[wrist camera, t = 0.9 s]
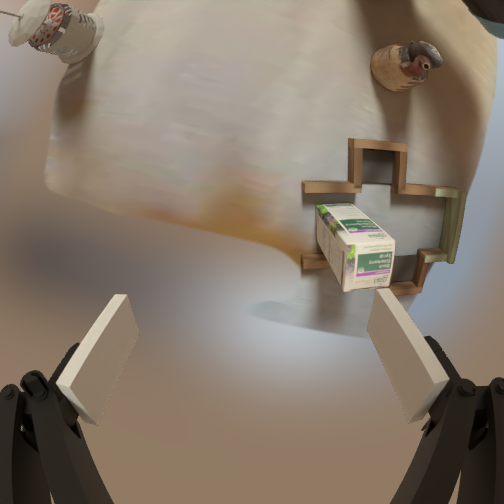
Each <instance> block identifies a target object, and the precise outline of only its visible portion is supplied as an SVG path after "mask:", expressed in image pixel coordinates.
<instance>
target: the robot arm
mask: <svg viewBox="0 0 504 504" xmlns="http://www.w3.org/2000/svg"><path fill="white" fill-rule="evenodd" d="M462 1H463V2H464V4H465V5H466V6H467V7H468V10H469V11H470V12H471V14H472V15H474V16H475V17H476V18H477V19H478V20H479V22H480V23H481V24H482V25H483V27H484V28H485V29H486V30H487V31H488V32H489V33H491V34H492V35H494V36H495V37H498V38H500V39H504V0H462ZM367 331H368V333H369V335H370V337H371V339H372V342H373V344H374V346H375V348H376V350H377V352H378V354H379V356H380V359H381V361H382V363H383V365H384V367H385V370H386V372H387V374H388V376H389V379H390V381H391V383H392V386H393V388H394V390H395V392H396V395H397V397H398V400H399V402H400V404H401V407H402V410H403V412H404V414H405V417H406V419H407V422H408V423H412V422H415V421H418V420H421V419H423V418H424V416H425V415H426V413H427V412H429V414H430V419H429V420H428V421H427V423H426V424H425V425H424V426H423V428H422V429H421V430H422V431H423V430H424V429H425V431H424V433H423V436H422V439H421V441H420V444H419V446H418V449H417V451H416V453H415V456H414V458H413V460H412V462H411V464H410V466H409V468H408V471H407V473H406V475H405V477H404V479H403V481H402V483H401V484H400V486H399V488H398V490H397V492H396V494H395V496H394V497H393V499H392V501H391V502H390V504H448V503H449V501H450V498H451V496H452V493H453V491H454V488H455V485H456V482H457V479H458V477H459V474H460V471H461V477H460V485H459V492H458V498H457V504H504V379H503V378H500V377H498V378H495V379H493V380H492V381H491V383H490V384H489V386H476V385H475V384H474V383H473V382H472V381H470V380H468V379H461V377H460V376H459V374H458V373H457V371H456V369H455V368H454V366H453V365H452V363H451V362H450V360H449V359H448V357H446V354H445V353H444V351H442V348H441V347H440V345H439V344H438V342H437V341H436V340H434V339H433V338H432V337H430V336H425V337H423V336H422V334H421V333H420V331H419V330H418V328H417V327H416V325H415V324H414V323H413V321H412V320H411V318H410V317H409V315H408V314H407V312H406V311H405V309H404V308H403V307H402V305H401V304H400V303H399V301H398V300H397V298H396V297H395V296H394V294H393V293H392V292H391V290H390V289H389V288H383V289H376V293H375V298H374V302H373V307H372V311H371V315H370V319H369V323H368V327H367ZM138 336H139V331H138V328H137V325H136V322H135V319H134V316H133V313H132V309H131V306H130V303H129V299H128V296H127V295H120V294H115V296H114V297H113V298H112V300H111V301H110V302H109V304H108V305H107V306H106V308H105V309H104V311H103V312H102V313H101V315H100V316H99V317H98V319H97V320H96V322H95V323H94V325H93V326H92V328H91V329H90V330H89V332H88V333H87V335H86V336H85V338H84V339H83V341H82V342H81V343H76V344H75V345H73V346H72V347H71V348H70V349H69V350H68V352H67V353H66V355H65V358H63V359H62V361H61V363H60V364H59V365H58V367H57V368H56V370H55V372H54V373H53V375H52V377H51V378H50V380H49V381H48V382H47V380H46V378H45V377H44V375H43V374H42V373H41V372H40V371H36V370H34V371H30V372H28V373H27V374H25V375H24V376H23V378H22V379H21V382H20V386H21V387H22V389H23V390H24V391H25V392H21V391H20V390H19V388H18V387H17V386H16V385H14V384H9V385H6V386H5V387H4V388H3V389H2V390H1V392H0V504H52V503H51V496H50V492H51V495H52V497H53V500H54V503H55V504H114V503H113V501H112V499H111V498H110V495H109V493H108V491H107V489H106V487H105V485H104V483H103V481H102V479H101V477H100V475H99V473H98V471H97V468H96V466H95V464H94V461H93V459H92V457H91V454H90V452H89V449H88V447H87V444H86V441H85V438H84V436H83V433H82V430H81V427H80V424H79V423H78V421H77V418H78V416H79V415H80V416H81V418H82V419H83V420H84V421H85V422H87V423H90V424H93V425H97V426H98V425H99V423H100V420H101V418H102V416H103V413H104V411H105V408H106V406H107V404H108V401H109V399H110V397H111V394H112V392H113V390H114V387H115V385H116V383H117V381H118V379H119V376H120V374H121V372H122V370H123V368H124V366H125V363H126V361H127V359H128V357H129V355H130V353H131V351H132V349H133V346H134V344H135V342H136V340H137V338H138ZM21 426H22V427H23V430H22V431H21Z"/></svg>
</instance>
